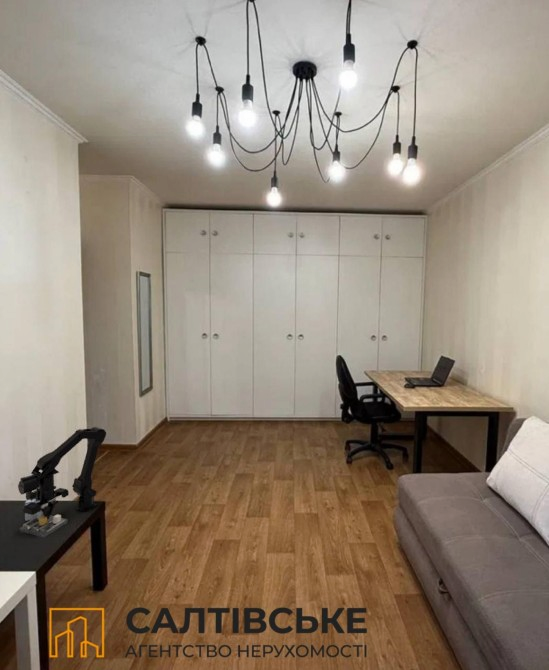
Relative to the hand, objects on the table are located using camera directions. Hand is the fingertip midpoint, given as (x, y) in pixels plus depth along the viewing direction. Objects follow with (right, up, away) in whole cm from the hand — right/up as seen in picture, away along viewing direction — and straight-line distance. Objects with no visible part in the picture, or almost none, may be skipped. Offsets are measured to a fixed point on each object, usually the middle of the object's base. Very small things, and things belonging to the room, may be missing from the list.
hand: (47, 518), depth 165 cm
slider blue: (-4, -1, +2) cm, 5 cm away
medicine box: (-11, -3, +7) cm, 14 cm away
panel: (0, -3, -1) cm, 3 cm away
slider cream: (+5, -1, -1) cm, 5 cm away
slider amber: (-1, -1, -2) cm, 2 cm away
